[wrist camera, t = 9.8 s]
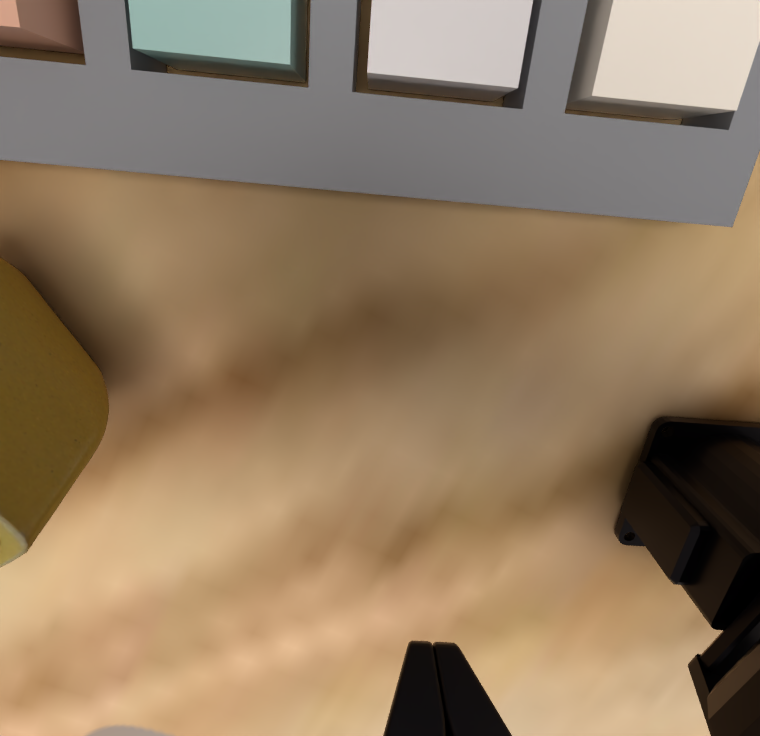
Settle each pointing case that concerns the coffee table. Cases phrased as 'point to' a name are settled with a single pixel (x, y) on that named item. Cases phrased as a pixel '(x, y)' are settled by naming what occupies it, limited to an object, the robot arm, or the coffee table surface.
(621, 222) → the coffee table surface
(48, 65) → the keyguard frame
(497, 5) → the key
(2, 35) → the key
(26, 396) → the flower pot
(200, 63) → the key
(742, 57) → the key
